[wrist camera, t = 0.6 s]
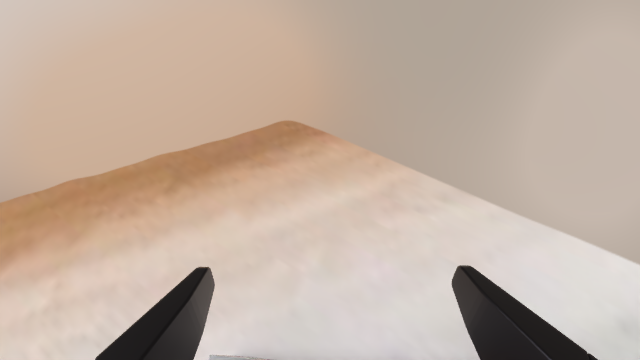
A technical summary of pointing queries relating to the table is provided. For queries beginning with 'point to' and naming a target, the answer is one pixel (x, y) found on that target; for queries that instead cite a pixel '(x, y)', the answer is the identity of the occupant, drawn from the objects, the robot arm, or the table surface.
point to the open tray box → (231, 358)
